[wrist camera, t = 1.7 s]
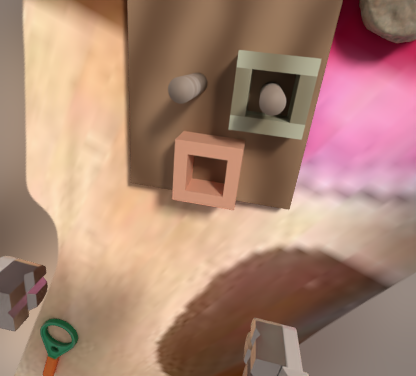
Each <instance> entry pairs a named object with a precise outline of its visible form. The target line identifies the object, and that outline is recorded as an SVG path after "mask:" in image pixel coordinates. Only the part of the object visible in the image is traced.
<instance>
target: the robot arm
mask: <svg viewBox="0 0 416 376" xmlns="http://www.w3.org/2000/svg"><path fill="white" fill-rule="evenodd" d="M45 274H46V267H45V266H43V265H40V264H36V263H33V262H29V261H26V260H22V259H18V258H14V257H10V256H4V257H1V258H0V328H2V329H7V330H11V331H16V330H17V329H18V328H19V327H20V326H21V324H22V323H23V322H24V321H25V320H26V319H27V318H28V317H29V310H31V309H33V308H35V307H37V306H38V305H39V304H40V303H41V301H42V300H43V298H44V296H45V294H46V292H47V281H46V280H45V279H44V277H43V276H44V275H45ZM244 362H245V364H246V367H245V369H244V372H243V376H309V374H308V373H306V372H303V367H302V361H301V355H300V349H299V342H298V336H297V330H296V329H295V328H294V327H290V326H286V325H282V324H278V323H274V322H270V321H265V320H261V319H257V318H254V319H253V321H252V324H251V332H249V333H248V336H247V339H246V343H245V349H244Z"/></svg>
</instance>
